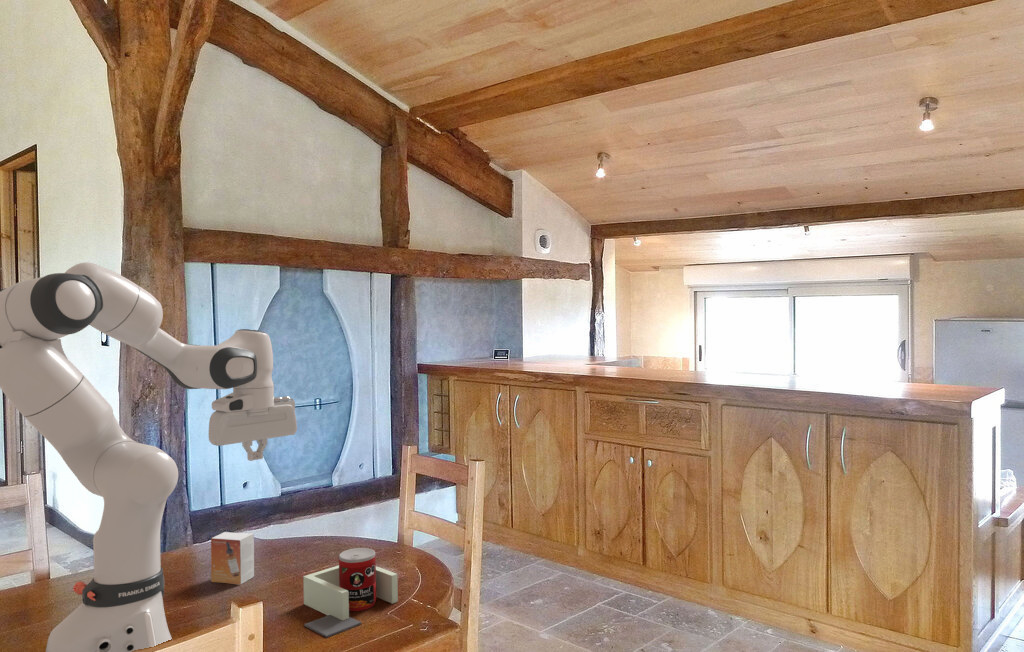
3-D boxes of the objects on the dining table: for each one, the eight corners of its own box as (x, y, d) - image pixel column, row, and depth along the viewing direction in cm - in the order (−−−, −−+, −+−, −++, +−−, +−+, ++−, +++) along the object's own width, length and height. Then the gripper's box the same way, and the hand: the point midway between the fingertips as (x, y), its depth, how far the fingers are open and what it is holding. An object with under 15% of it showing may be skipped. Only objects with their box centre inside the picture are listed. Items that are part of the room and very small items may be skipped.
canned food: (338, 613, 150) (337, 560, 150) (341, 598, 158) (340, 548, 158) (376, 610, 152) (375, 558, 151) (376, 595, 159) (375, 546, 159)
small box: (210, 582, 169) (209, 538, 169) (225, 574, 175) (224, 531, 174) (241, 585, 167) (240, 540, 167) (255, 576, 173) (254, 532, 173)
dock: (342, 622, 146) (342, 592, 146) (303, 604, 156) (303, 576, 155) (397, 601, 156) (397, 573, 156) (358, 585, 166) (357, 559, 166)
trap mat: (326, 637, 139) (326, 635, 139) (304, 626, 144) (304, 624, 144) (361, 624, 145) (361, 622, 145) (338, 613, 150) (338, 611, 150)
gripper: (287, 394, 176) (288, 451, 176) (204, 403, 161) (206, 465, 161) (301, 396, 172) (302, 454, 172) (217, 405, 157) (219, 468, 157)
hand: (255, 459), depth 167 cm, fingers closed
